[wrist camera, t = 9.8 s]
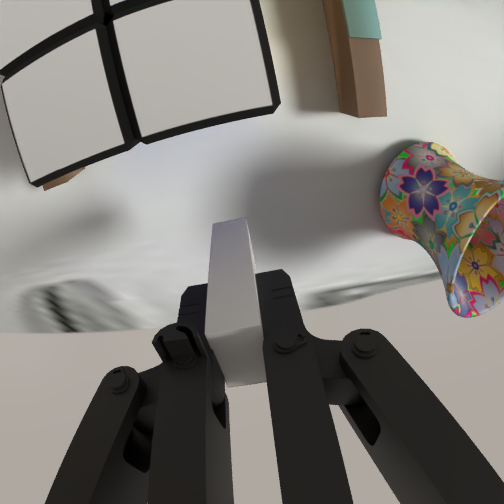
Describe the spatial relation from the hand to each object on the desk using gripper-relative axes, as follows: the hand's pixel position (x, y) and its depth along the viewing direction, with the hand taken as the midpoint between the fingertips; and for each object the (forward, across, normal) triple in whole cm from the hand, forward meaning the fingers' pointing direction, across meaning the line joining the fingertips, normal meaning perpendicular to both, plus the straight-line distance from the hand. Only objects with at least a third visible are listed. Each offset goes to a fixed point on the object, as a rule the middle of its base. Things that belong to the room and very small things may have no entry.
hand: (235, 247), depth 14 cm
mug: (+8, -16, +3) cm, 18 cm away
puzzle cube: (+8, +3, -11) cm, 14 cm away
